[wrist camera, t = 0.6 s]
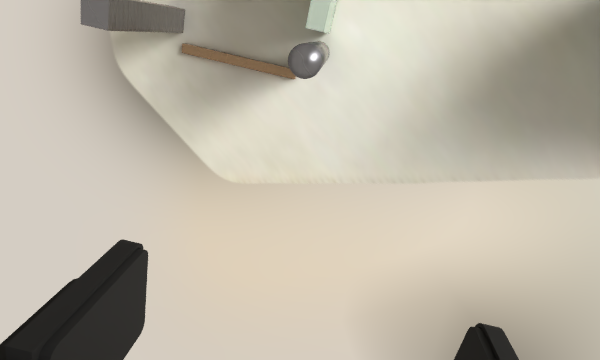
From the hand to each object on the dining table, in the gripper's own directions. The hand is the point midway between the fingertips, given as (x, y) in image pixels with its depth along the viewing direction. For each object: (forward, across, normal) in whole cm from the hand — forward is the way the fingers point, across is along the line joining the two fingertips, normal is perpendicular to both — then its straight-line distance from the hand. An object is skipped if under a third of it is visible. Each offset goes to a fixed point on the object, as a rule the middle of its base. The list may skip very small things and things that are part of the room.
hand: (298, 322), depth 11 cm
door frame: (+28, +9, -5) cm, 30 cm away
